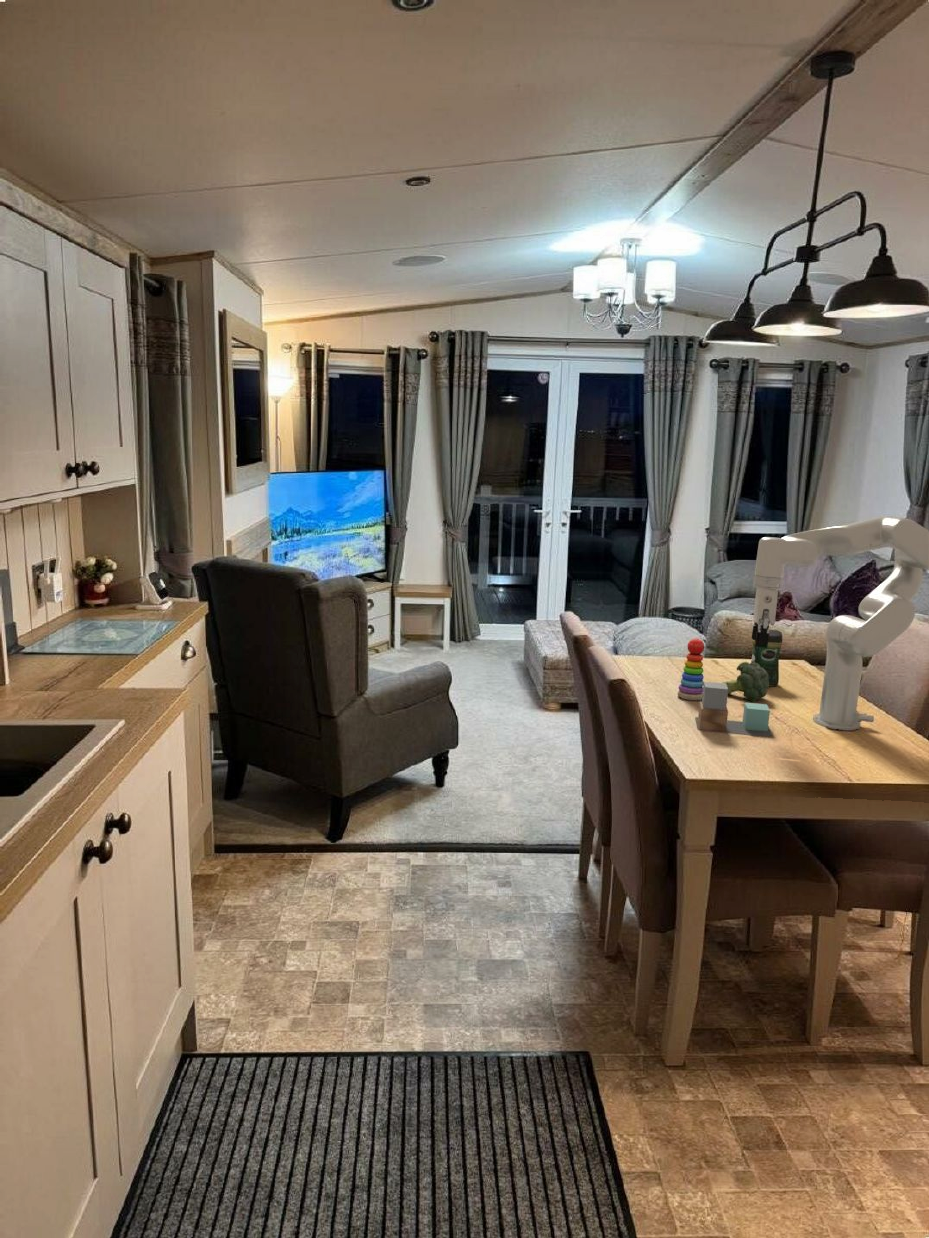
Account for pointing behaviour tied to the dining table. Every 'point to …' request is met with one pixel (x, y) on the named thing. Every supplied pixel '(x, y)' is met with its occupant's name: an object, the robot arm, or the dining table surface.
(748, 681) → the vegetable
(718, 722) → the tower base
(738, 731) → the mat
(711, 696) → the tower mid
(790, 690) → the dining table surface
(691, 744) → the dining table surface
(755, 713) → the teal cube
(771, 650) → the coffee jar
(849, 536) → the robot arm
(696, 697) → the stacking toy
